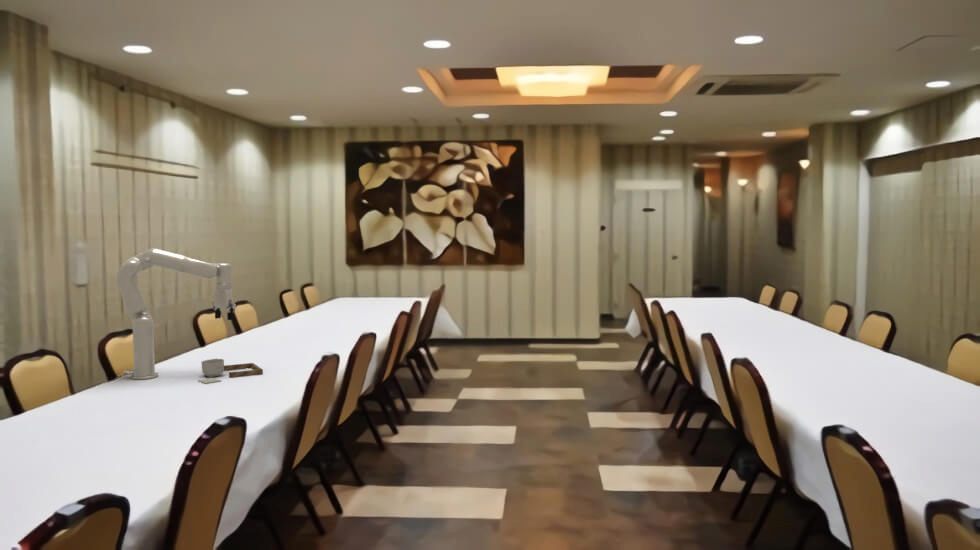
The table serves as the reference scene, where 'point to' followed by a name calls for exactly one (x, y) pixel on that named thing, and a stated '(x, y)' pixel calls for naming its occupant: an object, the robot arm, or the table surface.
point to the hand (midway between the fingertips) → (224, 319)
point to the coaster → (209, 381)
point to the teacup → (213, 367)
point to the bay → (255, 371)
